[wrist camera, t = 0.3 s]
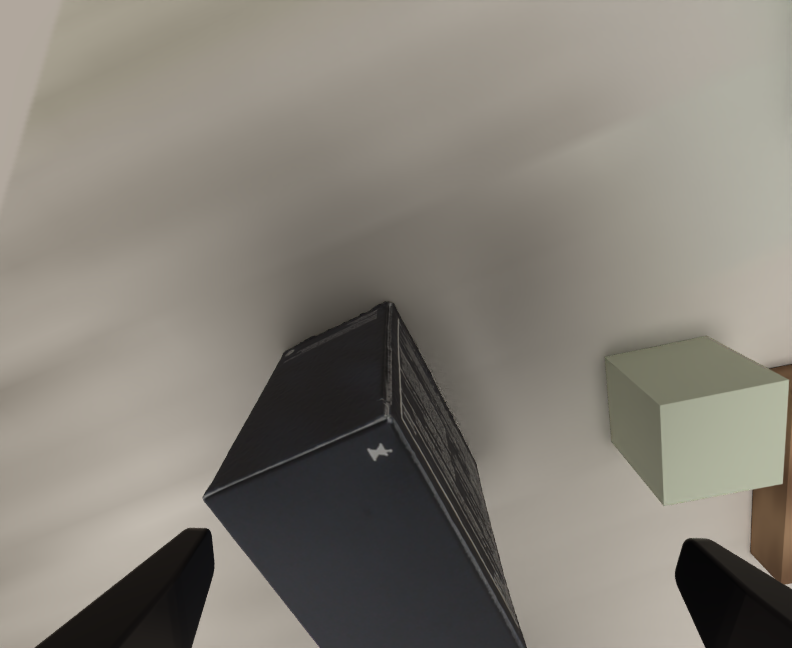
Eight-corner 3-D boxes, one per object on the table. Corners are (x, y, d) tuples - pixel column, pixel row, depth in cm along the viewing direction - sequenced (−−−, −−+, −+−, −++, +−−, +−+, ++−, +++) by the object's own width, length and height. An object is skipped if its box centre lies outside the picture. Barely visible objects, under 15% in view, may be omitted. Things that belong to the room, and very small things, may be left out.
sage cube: (705, 422, 24) (782, 483, 20) (610, 440, 25) (664, 506, 20) (705, 335, 23) (789, 379, 18) (603, 356, 23) (660, 405, 18)
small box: (273, 353, 23) (182, 499, 13) (391, 295, 22) (395, 403, 12) (372, 509, 26) (362, 726, 16) (479, 464, 25) (541, 663, 15)
